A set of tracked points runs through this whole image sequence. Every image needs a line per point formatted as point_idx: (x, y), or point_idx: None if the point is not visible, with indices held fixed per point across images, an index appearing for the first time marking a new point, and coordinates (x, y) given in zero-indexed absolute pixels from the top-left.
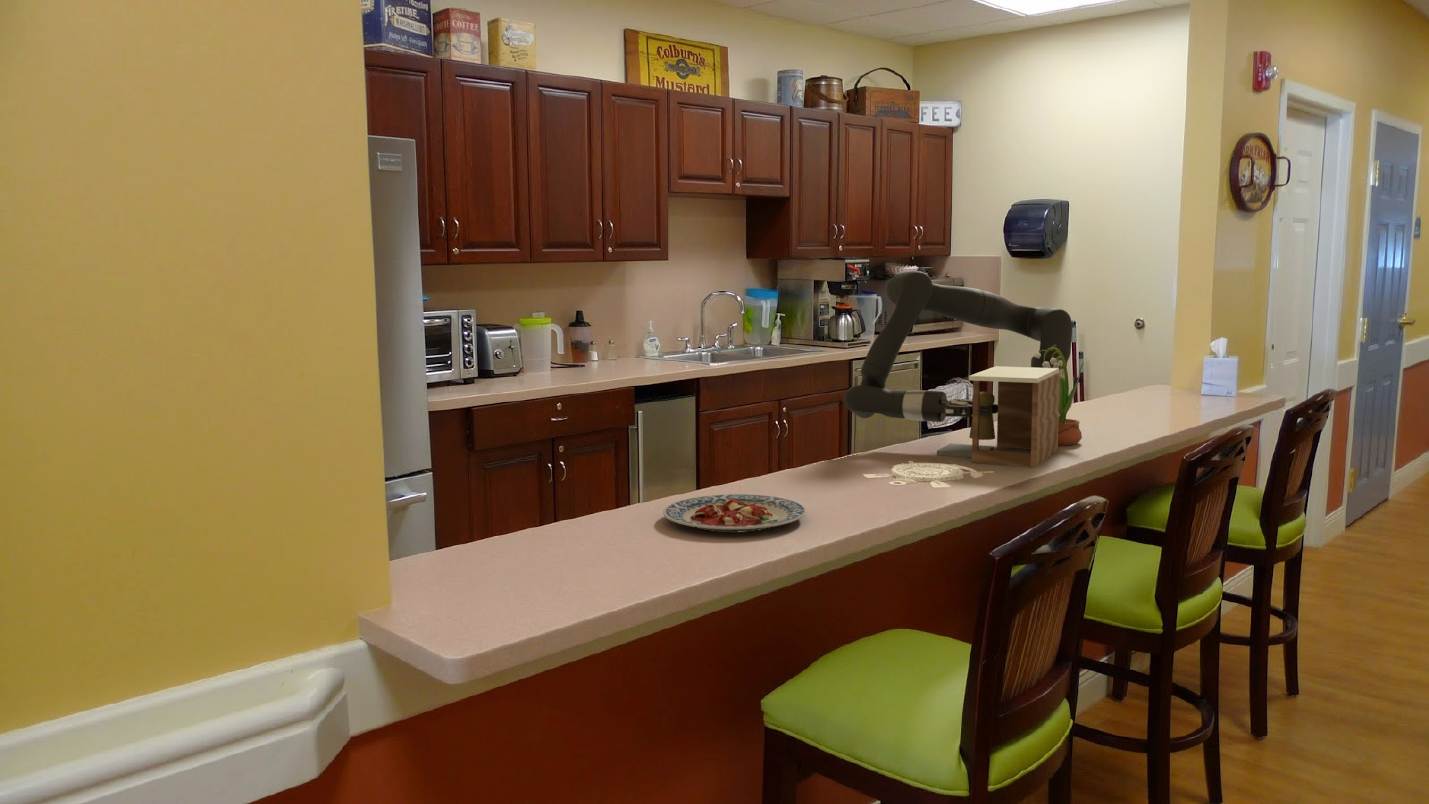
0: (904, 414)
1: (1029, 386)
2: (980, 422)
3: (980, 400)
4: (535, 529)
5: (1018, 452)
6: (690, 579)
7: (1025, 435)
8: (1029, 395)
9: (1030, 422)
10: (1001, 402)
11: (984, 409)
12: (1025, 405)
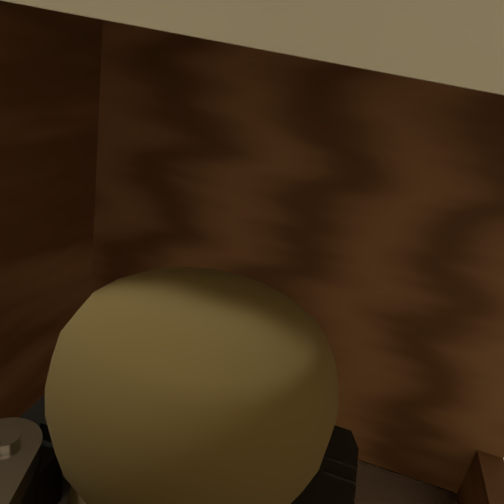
0: None
1: (13, 109)
2: None
3: (332, 425)
4: None
5: (498, 501)
6: None
7: (9, 383)
8: (15, 167)
9: (26, 310)
10: None
11: (352, 472)
12: (1, 234)
